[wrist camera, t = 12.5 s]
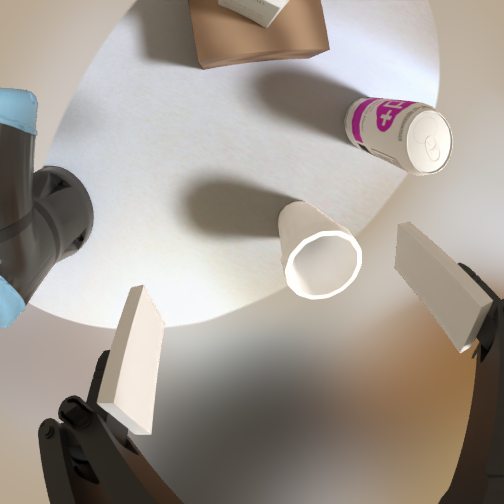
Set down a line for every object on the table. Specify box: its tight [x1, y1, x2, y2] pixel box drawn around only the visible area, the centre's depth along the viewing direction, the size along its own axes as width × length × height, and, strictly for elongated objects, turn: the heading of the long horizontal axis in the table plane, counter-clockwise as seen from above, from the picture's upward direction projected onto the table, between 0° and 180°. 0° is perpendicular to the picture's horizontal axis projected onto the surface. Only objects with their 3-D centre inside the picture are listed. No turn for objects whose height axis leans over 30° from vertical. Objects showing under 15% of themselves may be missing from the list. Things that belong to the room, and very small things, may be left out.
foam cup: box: [278, 201, 362, 299], centre depth 37 cm, size 10×9×13 cm
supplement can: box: [344, 97, 453, 176], centre depth 29 cm, size 8×8×15 cm
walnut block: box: [188, 0, 330, 70], centre depth 23 cm, size 14×14×8 cm
